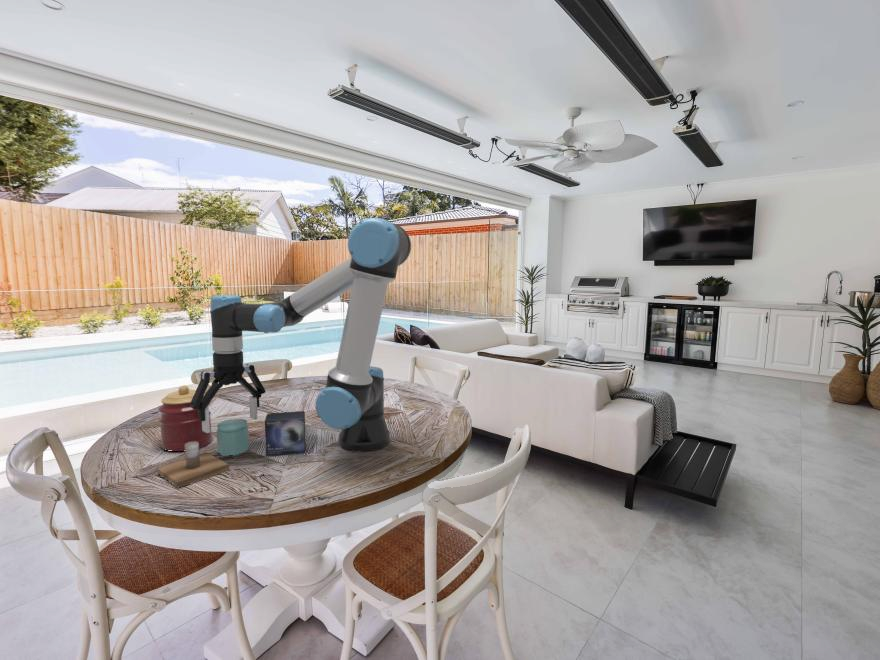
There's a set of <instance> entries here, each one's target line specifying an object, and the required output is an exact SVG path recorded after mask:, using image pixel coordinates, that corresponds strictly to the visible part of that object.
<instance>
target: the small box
mask: <svg viewBox="0 0 880 660" xmlns="http://www.w3.org/2000/svg"><path fill="white" fill-rule="evenodd" d="M305 415H306V411H305V410H299V411H286V412H271V413H266V416H265V419H264V431H265V436H264V437H265V438H264V439H265V455H266V457H272V456H282V455H292V454H293V455H294V454H302V453H306V450H307V449H306V447H307V441H306V416H305Z"/></svg>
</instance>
